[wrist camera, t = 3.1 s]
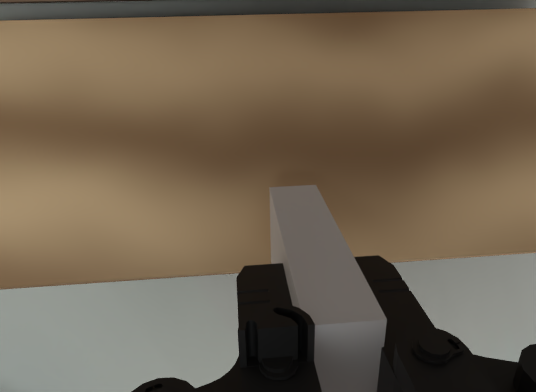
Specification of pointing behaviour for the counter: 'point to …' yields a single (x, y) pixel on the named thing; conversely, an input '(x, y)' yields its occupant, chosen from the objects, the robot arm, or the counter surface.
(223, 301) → the counter surface
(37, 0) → the walnut board
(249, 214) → the oak plank
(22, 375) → the counter surface
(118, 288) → the counter surface
